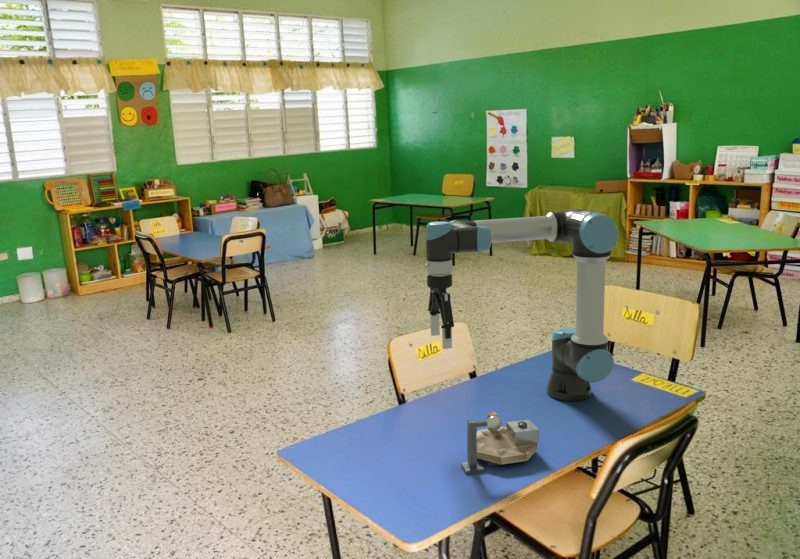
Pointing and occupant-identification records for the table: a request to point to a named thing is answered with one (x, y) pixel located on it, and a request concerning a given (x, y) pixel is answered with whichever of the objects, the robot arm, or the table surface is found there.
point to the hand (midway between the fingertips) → (441, 341)
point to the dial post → (473, 463)
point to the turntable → (501, 446)
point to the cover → (522, 432)
